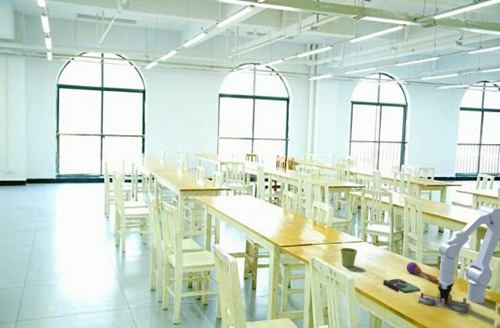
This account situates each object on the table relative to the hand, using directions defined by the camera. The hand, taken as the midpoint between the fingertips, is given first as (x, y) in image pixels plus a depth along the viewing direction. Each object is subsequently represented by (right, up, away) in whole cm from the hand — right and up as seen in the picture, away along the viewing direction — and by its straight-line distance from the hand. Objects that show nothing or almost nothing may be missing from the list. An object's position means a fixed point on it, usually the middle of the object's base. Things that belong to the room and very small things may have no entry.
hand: (444, 300), depth 208 cm
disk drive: (-14, 0, +17) cm, 22 cm away
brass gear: (0, 0, 0) cm, 0 cm away
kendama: (+3, +1, +36) cm, 36 cm away
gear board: (-2, -2, -3) cm, 4 cm away
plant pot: (-33, +4, +50) cm, 60 cm away
